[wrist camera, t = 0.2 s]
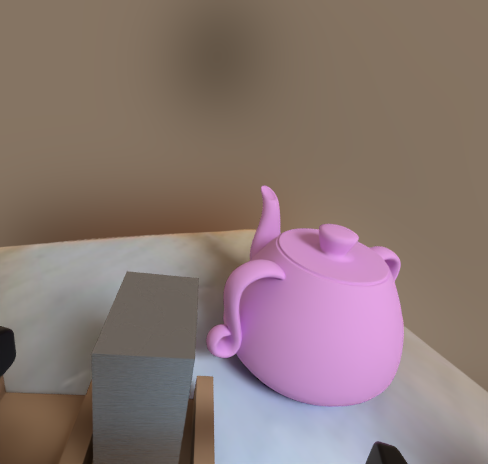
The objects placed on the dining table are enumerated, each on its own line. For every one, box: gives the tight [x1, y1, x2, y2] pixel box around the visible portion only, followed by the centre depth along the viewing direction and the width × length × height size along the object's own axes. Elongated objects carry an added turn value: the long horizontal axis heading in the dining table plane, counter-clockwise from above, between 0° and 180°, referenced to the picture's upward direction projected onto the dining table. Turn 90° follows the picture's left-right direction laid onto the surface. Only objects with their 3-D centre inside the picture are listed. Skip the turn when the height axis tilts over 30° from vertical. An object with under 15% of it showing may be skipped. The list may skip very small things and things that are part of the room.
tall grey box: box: [92, 272, 199, 464], centre depth 18 cm, size 6×4×12 cm, turn 6°
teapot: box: [206, 186, 404, 407], centre depth 33 cm, size 22×22×14 cm
